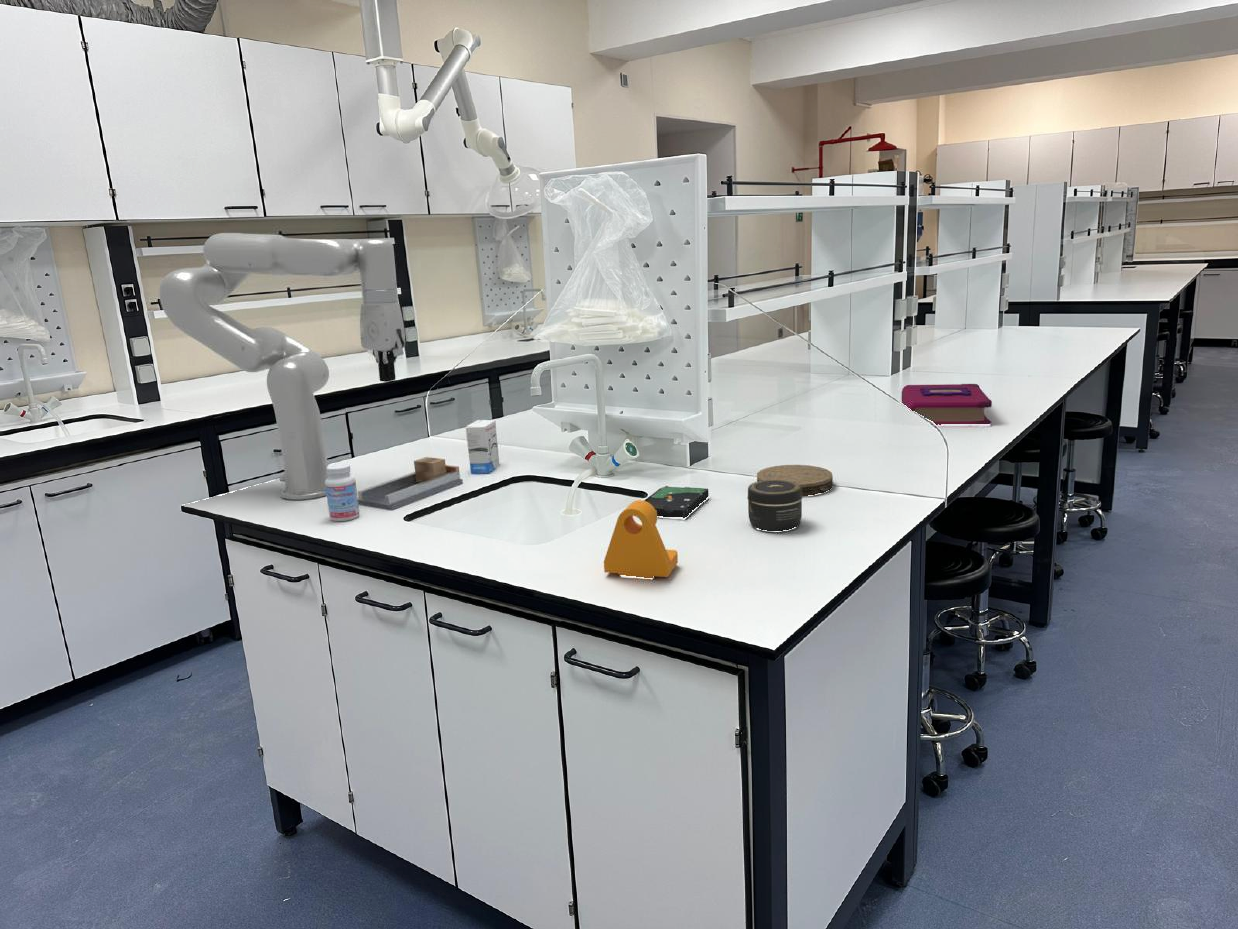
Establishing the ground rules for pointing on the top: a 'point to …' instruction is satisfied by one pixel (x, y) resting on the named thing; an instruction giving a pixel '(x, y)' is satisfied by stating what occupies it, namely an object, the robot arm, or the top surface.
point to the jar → (775, 504)
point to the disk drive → (677, 500)
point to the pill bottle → (341, 493)
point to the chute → (407, 489)
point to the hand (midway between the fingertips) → (387, 380)
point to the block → (429, 468)
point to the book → (948, 403)
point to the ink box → (482, 446)
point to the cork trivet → (800, 477)
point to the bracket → (639, 545)
